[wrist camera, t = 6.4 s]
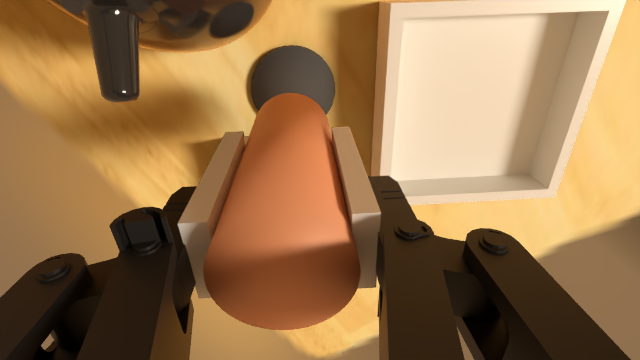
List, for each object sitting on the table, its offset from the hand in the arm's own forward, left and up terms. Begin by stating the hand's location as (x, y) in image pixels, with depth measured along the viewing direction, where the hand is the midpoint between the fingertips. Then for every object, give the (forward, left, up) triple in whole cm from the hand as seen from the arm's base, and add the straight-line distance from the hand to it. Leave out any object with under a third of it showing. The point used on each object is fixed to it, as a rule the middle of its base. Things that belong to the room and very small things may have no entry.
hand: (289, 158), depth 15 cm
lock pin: (0, 0, -4) cm, 4 cm away
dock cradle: (+1, +13, -11) cm, 17 cm away
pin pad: (0, 0, -11) cm, 11 cm away
